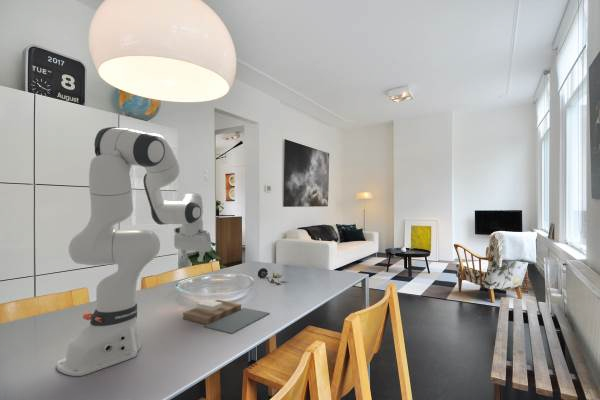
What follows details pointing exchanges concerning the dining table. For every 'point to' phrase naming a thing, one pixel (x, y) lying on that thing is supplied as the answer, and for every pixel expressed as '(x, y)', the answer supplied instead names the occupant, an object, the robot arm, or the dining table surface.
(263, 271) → the artificial flower
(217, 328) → the mat
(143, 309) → the dining table surface
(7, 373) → the dining table surface
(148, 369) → the dining table surface
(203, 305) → the white flat block
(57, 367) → the robot arm
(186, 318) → the wooden board
